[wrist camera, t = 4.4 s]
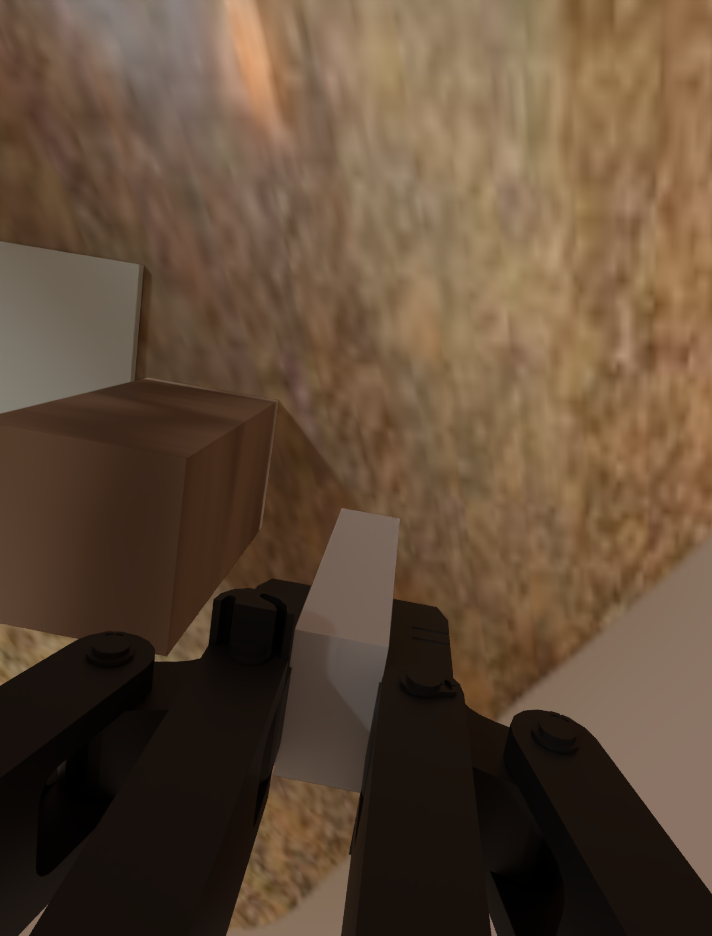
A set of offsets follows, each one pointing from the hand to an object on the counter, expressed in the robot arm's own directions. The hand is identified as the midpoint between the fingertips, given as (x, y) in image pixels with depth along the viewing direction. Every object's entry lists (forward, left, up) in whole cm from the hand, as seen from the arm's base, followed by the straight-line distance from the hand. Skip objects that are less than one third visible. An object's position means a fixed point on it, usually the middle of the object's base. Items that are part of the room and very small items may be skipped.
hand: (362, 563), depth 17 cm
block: (-7, 0, -8) cm, 11 cm away
